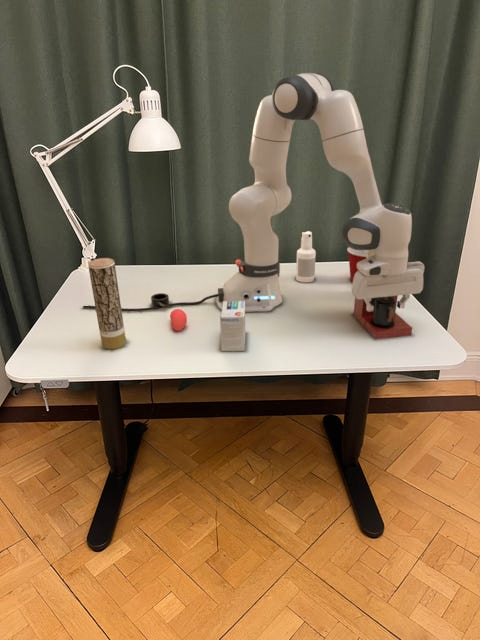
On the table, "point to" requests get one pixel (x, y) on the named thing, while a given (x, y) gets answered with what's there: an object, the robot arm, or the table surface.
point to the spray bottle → (305, 259)
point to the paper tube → (107, 302)
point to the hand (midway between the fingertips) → (385, 309)
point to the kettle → (384, 311)
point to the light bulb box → (232, 326)
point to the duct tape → (160, 300)
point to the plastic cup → (355, 260)
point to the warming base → (381, 332)
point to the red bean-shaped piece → (178, 319)
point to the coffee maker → (361, 308)
